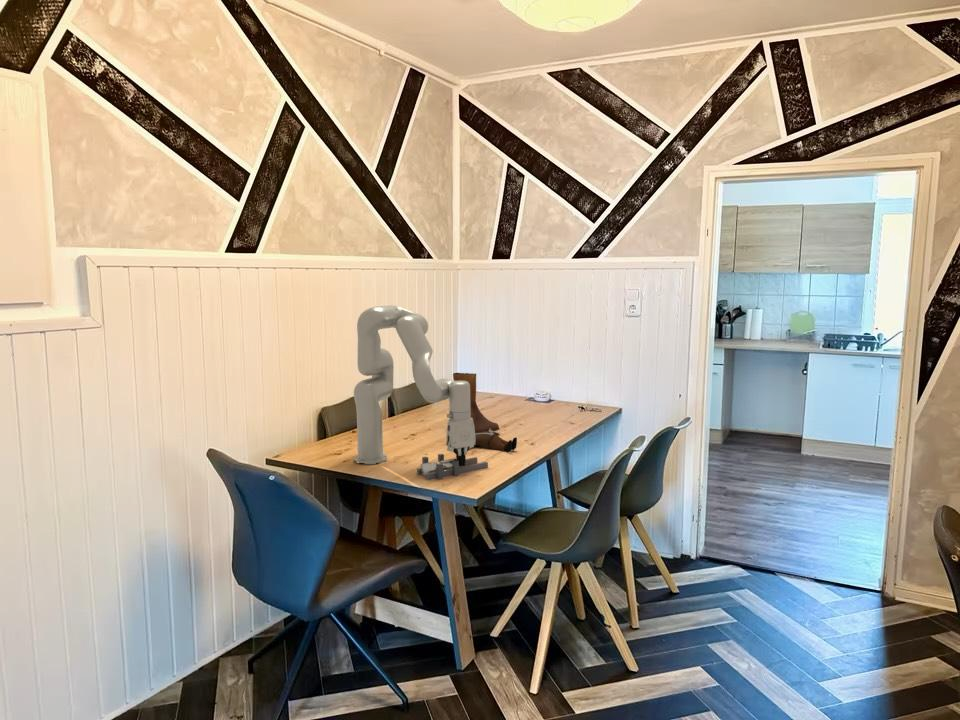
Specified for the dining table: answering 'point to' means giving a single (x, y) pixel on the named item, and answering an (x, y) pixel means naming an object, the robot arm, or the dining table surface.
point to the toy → (494, 441)
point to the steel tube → (431, 466)
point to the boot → (475, 405)
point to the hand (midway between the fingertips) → (461, 465)
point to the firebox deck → (453, 468)
